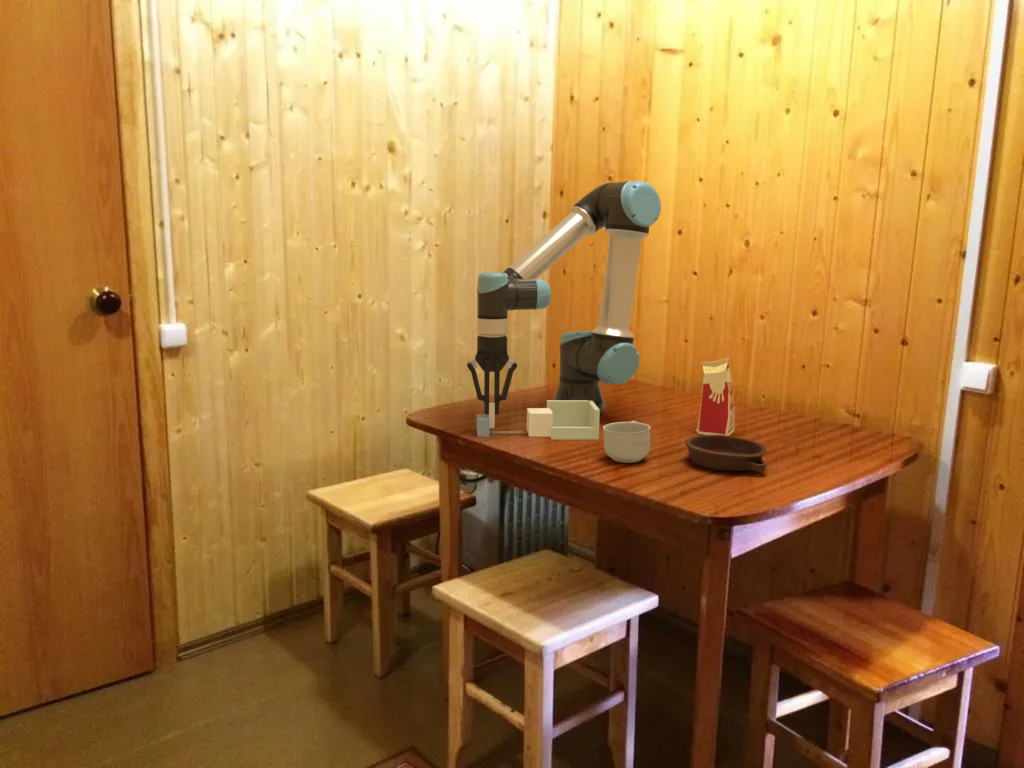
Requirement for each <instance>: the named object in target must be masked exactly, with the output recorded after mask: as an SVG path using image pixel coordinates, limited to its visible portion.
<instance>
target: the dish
mask: <svg viewBox="0 0 1024 768" xmlns="http://www.w3.org/2000/svg"><path fill="white" fill-rule="evenodd" d="M684 444H685V446H686V447H687V449H688V454H689V456H690V458H691V460H692V462H693V463H694V464H696V465H698V466H700V467H702V468H705V469H708V470H713V471H722V472H745V471H753V472H758V473H762V472H765V471H766V467H767V462H765V461H764V460H763V459H762V458H763V456H764V455H765V454H767V450H768V449H767V447H766V446H765V445H764V444H762V443H760V442H758V441H755V440H752V439H749V438H744V437H739V436H733V435H729V436H727V435H703V434H698V435H694V436H691V437H689V438H687V439H686V440H685V441H684Z"/></svg>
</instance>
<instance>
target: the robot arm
mask: <svg viewBox="0 0 1024 768" xmlns="http://www.w3.org/2000/svg"><path fill="white" fill-rule="evenodd" d="M661 211H662V203H661V198H660V195H659V193H658V192H657V189H655V187H654V186H653V185H652V184H651V183H649V182H646V181H643V180H642V181H640V180H639V181H638V180H629V181H618V182H613V181H612V182H607V183H603V184H600V185H599V186H597V187H595V188H594V189H592V190H591V191H589V192H588V193H587V194H586V195H585V196H583V197H582V198H581V199H580V200H578V201H577V202H576V203H574V205H573V206H571V207H570V208H569V212H568V215H567V216H565V218H563V219H562V220H561V221H559V222H558V224H556V225H555V226H554V227H553V228H552V229H551V230H549V231H548V232H547V233H546V234H545V235H543V236H542V237H541V238H540V239H539V240H538V241H537V242H536V243H534V245H532V246H531V247H530V248H528V250H527V251H525V252H524V253H523V254H521V256H520V257H519V258H517V259H516V260H515V261H514V262H513V263H512V264H511V265H509V266H508V267H507V268H505V270H503V271H502V272H492V271H491V272H490V271H489V272H482V273H479V275H478V277H477V286H476V288H477V289H476V294H477V298H476V299H477V304H476V305H477V322H476V325H477V326H476V330H477V331H476V333H477V334H478V336H477V337H476V354H475V356H474V359H472V360H470V361H467V362H466V366H467V368H468V370H469V372H470V373H471V377H472V382H473V385H474V389H475V393H476V397H477V400H478V401H482V402H483V411H484V413H483V414H485V415H489V419H490V428H489V429H495V421H496V420H495V418H496V417H495V416H496V415H499V414H500V402H503V401H505V400H507V397H508V395H509V394H508V392H509V390H510V387H511V382H512V378H513V374H514V372H515V370H516V369H517V368H518V363H517V362H516V361H514V360H512V359H510V357H509V354H508V336H507V335H506V334H508V317H509V316H508V312H509V311H522V310H524V311H527V310H534V311H536V310H542V309H546V308H547V307H548V306H549V305H550V302H551V300H552V290H551V287H550V286H551V285H549V283H548V282H547V281H546V280H545V279H539V278H540V277H541V276H542V275H544V273H546V271H548V270H549V269H550V268H552V266H553V265H554V264H556V263H557V262H558V261H560V259H561V258H563V257H564V256H565V255H566V254H567V253H568V252H569V251H571V250H572V248H574V247H576V245H577V244H579V243H580V242H581V241H582V240H583V239H584V238H586V236H593V235H595V233H597V232H598V231H599V230H601V229H603V228H605V229H604V231H605V232H606V233H607V235H608V236H609V241H608V250H607V255H606V256H607V258H606V265H605V272H604V278H603V279H604V281H603V286H602V293H601V294H602V295H601V302H600V307H599V317H598V323H597V324H598V325H596V327H595V328H594V329H592V330H586V331H585V330H584V331H567V332H563V333H562V334H561V336H560V342H559V348H560V349H559V375H558V376H559V378H558V379H559V380H558V386H557V389H556V390H555V394H554V397H553V399H552V400H592V401H593V402H594V403H595V405H596V406H597V407H598V408H599V410H600V414H602V413H603V412H605V404H606V403H605V401H604V397H603V392H602V389H601V385H600V382H602V383H605V384H610V385H622V384H625V383H626V382H629V380H631V379H632V378H633V377H634V376H635V374H636V373H637V371H638V369H639V365H640V353H639V351H638V349H637V347H635V345H634V340H635V335H634V333H632V331H631V330H630V328H631V320H632V313H633V308H634V307H633V306H634V300H635V299H634V298H635V292H636V285H637V279H638V271H639V263H640V256H641V250H642V248H641V247H642V242H643V240H644V239H646V238H647V237H648V236H649V232H650V228H651V226H652V225H654V224H655V223H656V221H658V219H659V217H660V214H661ZM477 364H478V366H479V367H480V368H481V369H482V371H483V373H484V374H483V375H484V376H483V377H484V378H483V379H484V380H483V382H484V383H483V384H484V385H483V391H484V393H483V394H482V390H481V387H480V386H481V385H480V383H479V382H480V381H479V378H478V375H477V370H476V369H477V367H478V366H477ZM506 365H507V366H506ZM505 366H506V367H507V372H506V375H505V379H504V384H503V388H502V391H501V394H500V383H501V382H500V377H501V376H500V375H501V374H500V373H501V371H502V370H503V368H504V367H505ZM492 372H493V375H494V376H493V377H494V381H493V385H494V386H493V399H494V400H490V375H491V374H490V373H492Z"/></svg>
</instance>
